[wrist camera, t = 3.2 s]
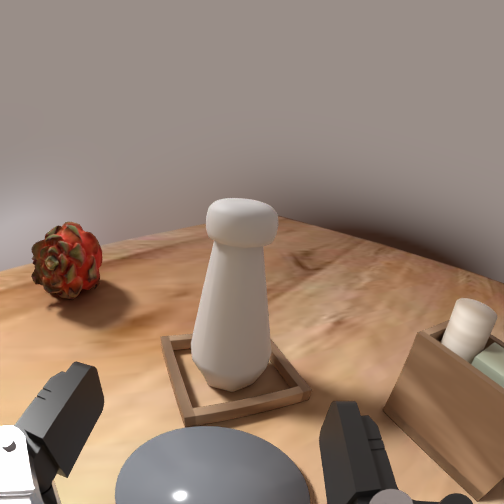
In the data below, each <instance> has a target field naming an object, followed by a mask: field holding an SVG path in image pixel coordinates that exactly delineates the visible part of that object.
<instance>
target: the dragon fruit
mask: <svg viewBox="0 0 504 504" xmlns="http://www.w3.org/2000/svg"><path fill="white" fill-rule="evenodd" d="M32 253H33V255H34V256H33V258H32V259H33V260H34V261H33V264H34V265H35V270H34V272H33V273H32V276H31V277H32V279H33V281H34V282H35V284H40V285H43V286H44V289H45V290H46V291H47V292H48V293H57V294H58V295H59V296H60V297H63V298H67V299H75V298H76V297H77V296H78V295H79V293H80V291H81V290H82V289H86V290H89V289H91V288H92V287H94V286H95V288H96V287H97V286H98V284H99V280H100V274H99V267H100V266H101V263H102V250H101V247H100V245H99V242H98V240H97V239H96V237H95V236H94V235H93V234H92V233H90V232H85V231H83V229H82V227H81V226H80V225H79V224H77V223H73V222H66V223H65V224H64V225H63V226H62V227H61V226H56V227H55V228H53V229H52V230H51V231H49V232H48V233H47V234H46V235H45V240H42V241H39V242H37V243H35V244H34V245H33V247H32Z"/></svg>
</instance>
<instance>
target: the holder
mask: <svg viewBox="0 0 504 504" xmlns="http://www.w3.org/2000/svg"><path fill="white" fill-rule="evenodd" d="M192 336H193V334H185V335H174V336H162V337H161V348H162V352H163V355H164V359H165V363H166V367H167V370H168V374H169V377H170V381H171V384H172V388H173V391H174V394H175V398H176V401H177V404H178V407H179V410H180V413H181V417H182V420H183V423H184V426H185V427H190V426H196V425H202V424H208V423H214V422H219V421H224V420H229V419H234V418H239V417H243V416H248V415H252V414H256V413H261V412H265V411H269V410H273V409H276V408H280V407H284V406H288V405H291V404H295V403H298V402H302V401H305V400H308V399H309V398H310V394H311V391H312V389H311V388H310V387H309V386H308V384H307V383H306V382H305V381H304V379H303V378H302V377H301V376H300V375H299V373H298V372H297V371H296V370H295V368H294V367H293V366H292V365H291V364H290V362H289V361H288V360H287V359H286V357H285V356H284V355H283V354H282V352H281V351H280V350H279V349H278V347H277V346H276V345H275V344H274V342H273V341H272V340H271V339H270V340H271V356H270V359H269V360H270V361H271V363H272V364H273V365H274V367H275V368H276V369H277V371H278V372H279V373H280V375H281V376H282V378H283V379H284V380H285V382H286V383H287V384H288V386H289V387H290V388H289V389H285V390H281V391H277V392H273V393H269V394H265V395H260V396H256V397H251V398H246V399H242V400H237V401H231V402H226V403H221V404H215V405H209V406H203V407H197V408H192V405H191V402H190V400H189V397H188V394H187V391H186V388H185V385H184V382H183V379H182V376H181V373H180V370H179V367H178V364H177V361H176V358H175V355H174V352H173V350H179V349H189V348H191V341H192Z"/></svg>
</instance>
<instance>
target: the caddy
mask: <svg viewBox="0 0 504 504" xmlns="http://www.w3.org/2000/svg"><path fill="white" fill-rule="evenodd" d="M496 320H497V314H496V313H495V312H494V310H492V309H491V308H490V307H488V306H487V305H485V304H483V303H481V302H479V301H476V300H472V299H467V298H461V299H458V300H457V301H456V304H455V307H454V310H453V312H452V315H451V318H450V320H448V321H445V322H443V323H440V324H438V325H436V326H433V327H430V328H428V329H425V330H423V331H420V332H418V333H417V335H416V338H415V340H414V343H413V345H412V348H411V350H410V353H409V355H408V357H407V360H406V362H405V364H404V367H403V369H402V371H401V373H400V376H399V378H398V380H397V382H396V384H395V386H394V388H393V390H392V393H391V395H390V397H389V399H388V401H387V403H386V405H385V407H384V408H383V411H384V412H385V413H386V414H387V415H388V416H389V417H390V418H391V419H392V420H393V421H394V422H395V423H396V424H397V425H398V426H399V427H400V428H401V429H402V430H403V431H404V432H405V433H406V434H407V435H408V436H409V437H410V438H411V439H412V440H413V441H414V442H415V443H417V444H418V445H419V446H420V447H421V448H422V449H423V450H424V451H425V452H426V453H427V454H428V455H429V456H430V457H431V458H432V459H433V460H434V461H435V462H436V463H437V464H438V465H439V466H440V467H441V468H442V469H444V470H445V471H446V472H447V473H448V474H449V475H450V476H451V477H452V478H453V479H454V480H455V481H456V482H457V483H458V484H459V485H460V486H461V487H463V488H464V489H465V490H466V491H467V492H468V493H469V494H470V495H471V496H472V497H473V498H474V499H475V500H476V501H479V500H480V499H481V498H482V497H483V496H484V495H485V494H487V493H488V492H489V491H490V490H491V489H492V488H493V487H494V486H495V485H496V484H497V483H498V482H499V481H500V480H501V479H502V478H503V477H504V342H502V341H501V340H499V339H497V338H496V337H494V336H493V335H491V332H492V329H493V327H494V325H495V322H496Z"/></svg>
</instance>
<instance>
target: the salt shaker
mask: <svg viewBox="0 0 504 504" xmlns="http://www.w3.org/2000/svg"><path fill="white" fill-rule="evenodd" d="M206 229H207V233H208V237H209V238H211V239H212V240H214V244H213V248H212V253H211V257H210V261H209V265H208V269H207V274H206V278H205V282H204V287H203V291H202V295H201V300H200V304H199V309H198V313H197V318H196V322H195V327H194V332H193V336H192V341H191V352H192V360H193V361H194V363H195V364H196V366H197V367H198V369H199V370H200V371H201V373H202V374H203V376H204V377H205V379H206V381H207V383H208V385H209V386H212V387H216V388H219V389H223V390H226V391H230V392H234V391H237V390H239V389H242V388H244V387H247V386H249V385H251V384H253V383H254V382H255V381H256V380H257V378H258V377H259V376H260V375H261V374H262V373H263V371H264V370H265V369H266V367H267V365H268V362H269V359H270V356H271V340H270V327H269V314H268V302H267V289H266V277H265V265H264V253H263V246H266V245H269V244H271V243H272V242H273V240H274V238H275V236H276V233H277V229H278V214H277V213H276V211H275V210H274V209H273V208H272V207H271V206H270V205H268V204H265V203H262V202H260V201H256V200H251V199H242V198H226V199H221V200H218V201H215V202H214V203H213V204H212V205H210V207H209V209H208V213H207V217H206Z"/></svg>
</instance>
